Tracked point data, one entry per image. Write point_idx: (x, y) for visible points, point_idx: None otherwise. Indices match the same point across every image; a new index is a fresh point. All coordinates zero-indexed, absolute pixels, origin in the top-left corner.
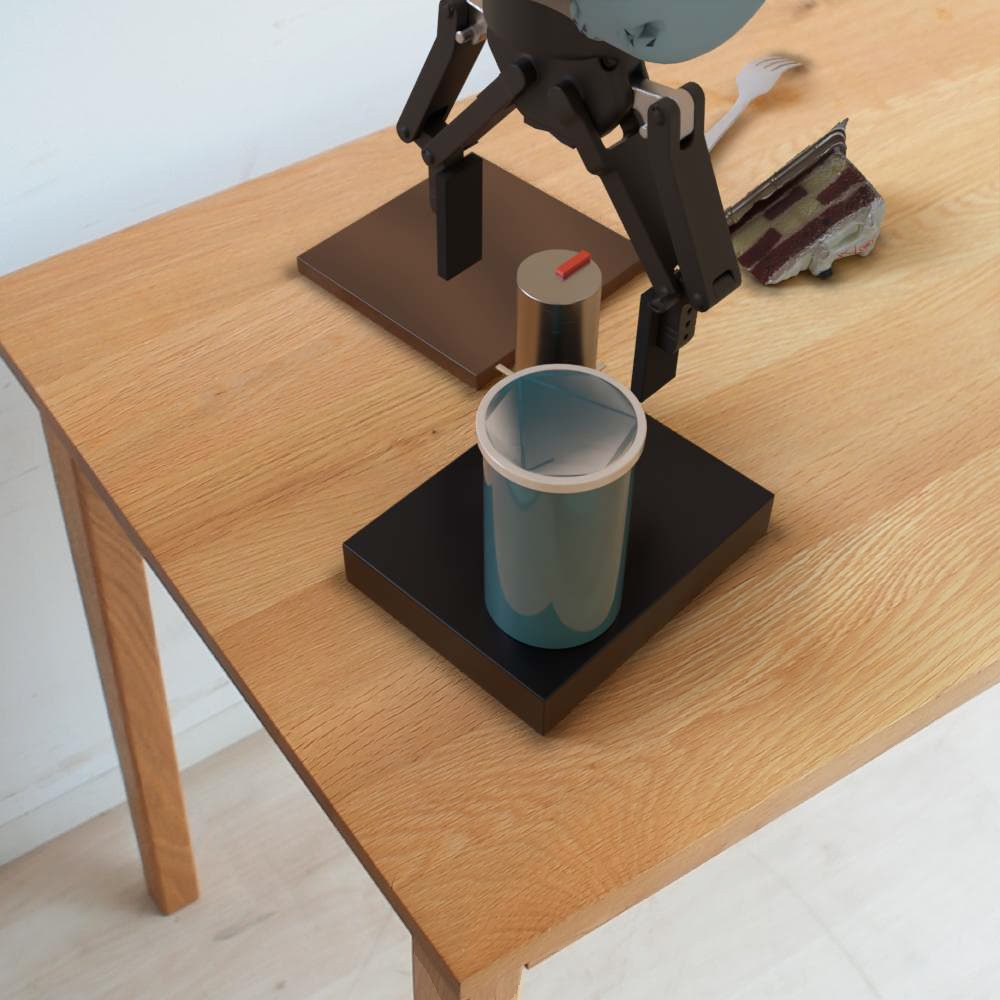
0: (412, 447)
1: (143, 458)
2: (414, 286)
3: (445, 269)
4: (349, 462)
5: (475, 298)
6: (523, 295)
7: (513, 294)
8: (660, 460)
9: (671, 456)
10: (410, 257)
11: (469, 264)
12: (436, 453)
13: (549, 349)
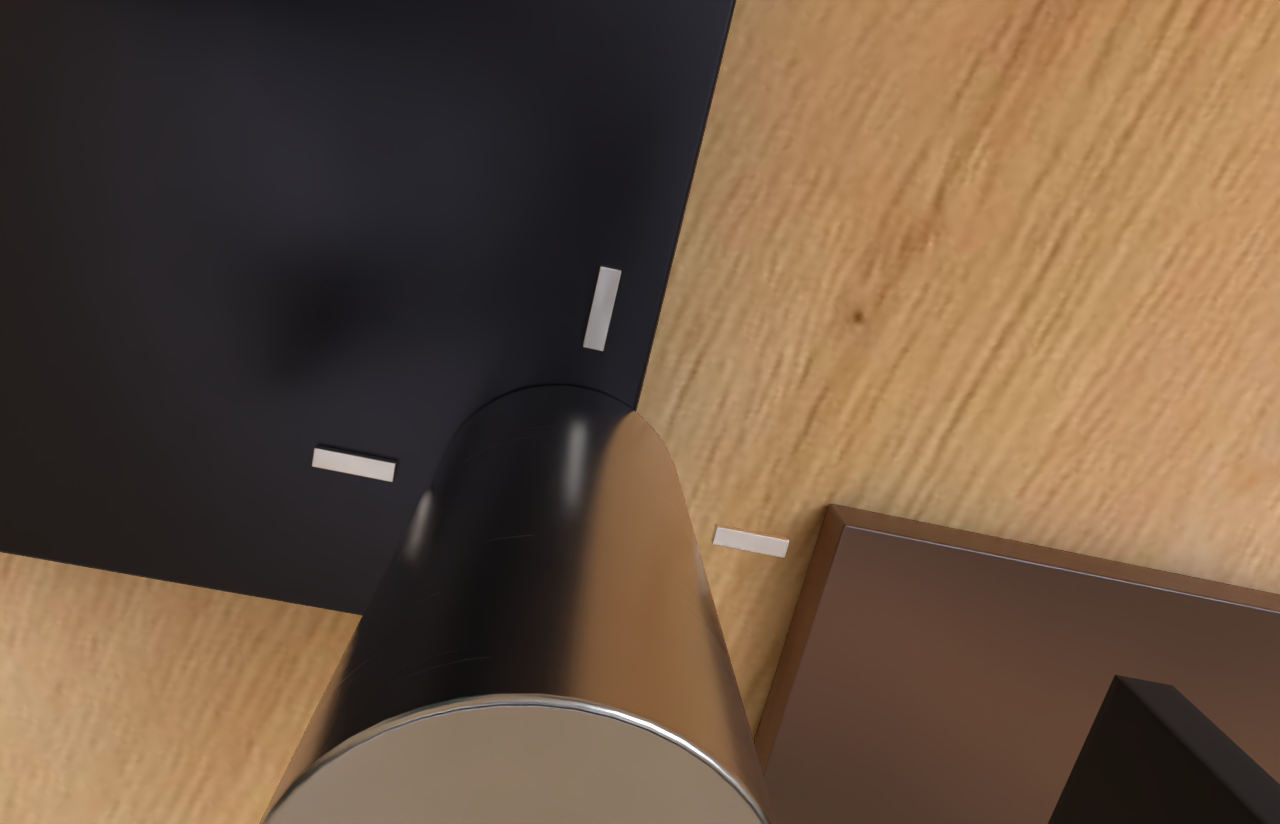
0: (884, 236)
1: None
2: None
3: (1165, 716)
4: (1017, 91)
5: (982, 758)
6: (638, 698)
7: (898, 816)
8: (145, 459)
9: (128, 490)
10: None
11: (1069, 804)
12: (814, 251)
13: (469, 535)
